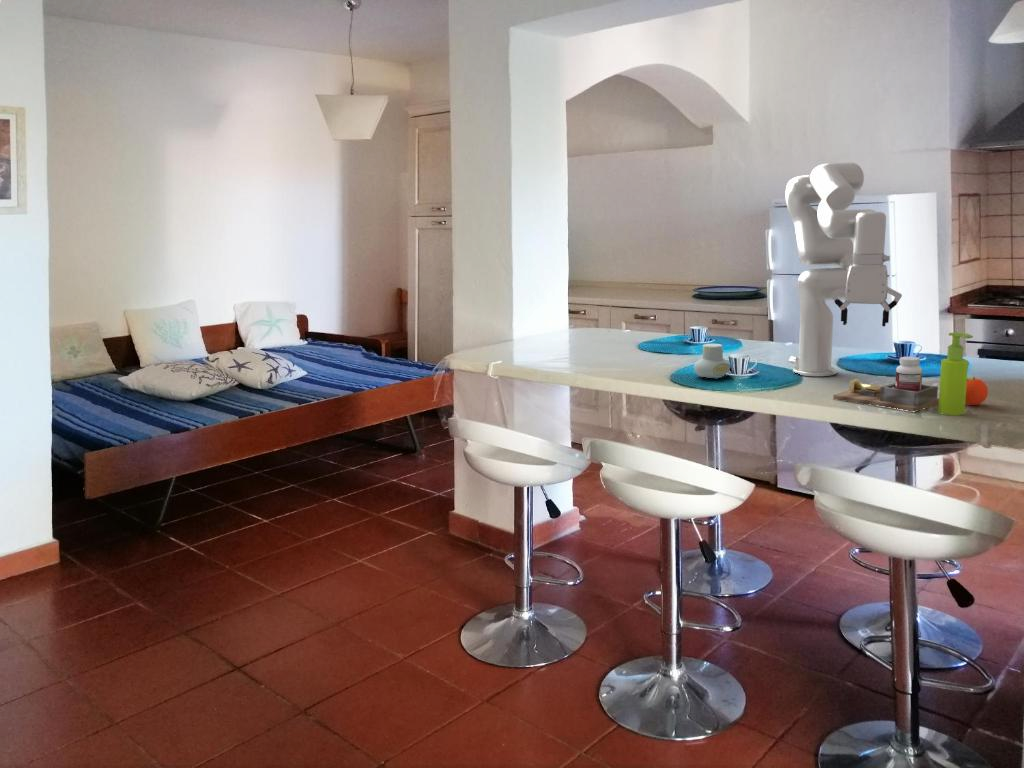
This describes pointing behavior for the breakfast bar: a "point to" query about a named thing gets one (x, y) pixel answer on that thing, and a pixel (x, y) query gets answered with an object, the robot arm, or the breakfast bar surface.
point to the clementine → (975, 391)
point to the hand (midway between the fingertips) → (864, 324)
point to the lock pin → (863, 386)
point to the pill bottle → (909, 374)
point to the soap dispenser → (953, 378)
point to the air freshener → (712, 362)
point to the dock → (894, 397)
